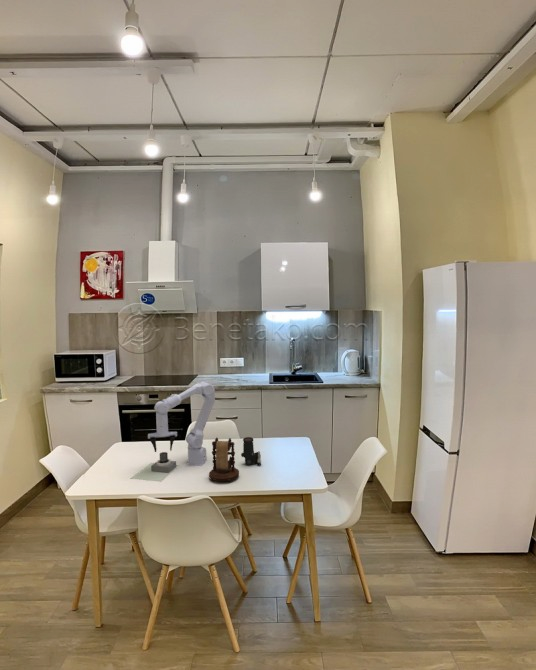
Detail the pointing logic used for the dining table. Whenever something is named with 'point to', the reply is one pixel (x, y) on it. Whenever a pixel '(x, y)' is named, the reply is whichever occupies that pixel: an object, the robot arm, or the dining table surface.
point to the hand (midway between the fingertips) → (163, 450)
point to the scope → (250, 452)
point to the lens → (163, 457)
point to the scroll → (223, 461)
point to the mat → (151, 474)
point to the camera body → (163, 466)
